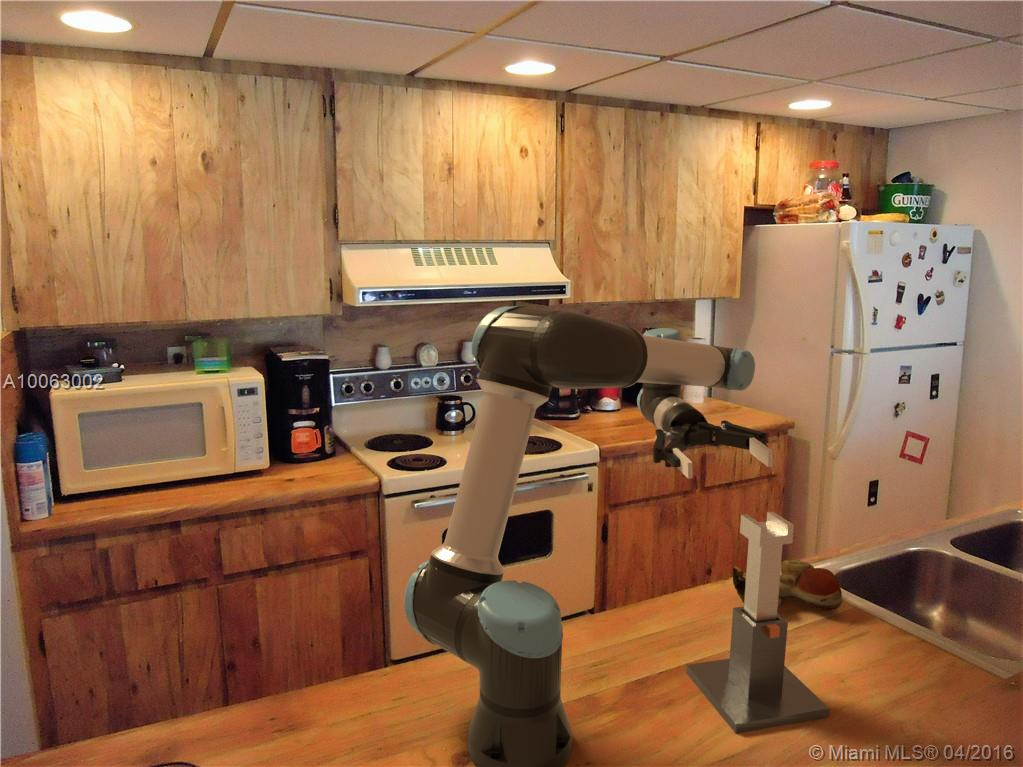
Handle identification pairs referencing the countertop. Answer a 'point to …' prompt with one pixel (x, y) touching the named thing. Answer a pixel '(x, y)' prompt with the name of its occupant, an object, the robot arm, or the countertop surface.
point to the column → (764, 564)
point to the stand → (756, 679)
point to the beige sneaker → (801, 585)
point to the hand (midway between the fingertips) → (730, 464)
